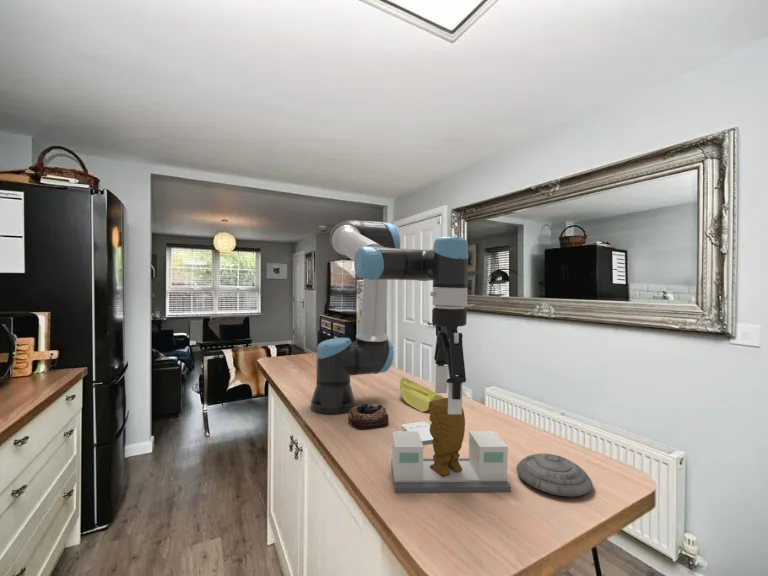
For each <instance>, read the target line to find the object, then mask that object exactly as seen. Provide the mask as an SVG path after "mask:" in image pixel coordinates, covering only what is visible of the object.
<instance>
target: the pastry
mask: <svg viewBox="0 0 768 576" xmlns="http://www.w3.org/2000/svg"><path fill="white" fill-rule="evenodd" d="M348 421H349V423H350V424H351V426H352V427H353V428H355V429H357V431H362V430H363V431H364V430H373V429H378V428H379V429H381V428H384V429H385V428H387V427H388V426H389V425H390V423H389V414H388V412H387V408H385V407H383V405H382V404H380V403H374V404H370V405H369V404H368V403H367V402H363V403H362V404H361V405H360V406H359V405H355V407H353V408H352V409H350V411H348Z"/></svg>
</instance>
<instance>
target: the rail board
mask: <svg viewBox="0 0 768 576" xmlns="http://www.w3.org/2000/svg"><path fill="white" fill-rule="evenodd" d="M391 436H392V440H391V441H392V443H391V444H392V446H391V448H392V449H391V450H392V451H391V453H392V454H391V456H392V457H391V468H392V478H393V480H392V481H393V486H394V493H396V494H397V493H401V494H402V493H409V494H411V493H412V494H413V493H497V492H498V493H500V492H501V493H503V492H506V493H511V492H512V486H511V485H510V483H509V482H508V456H509V455H508V452H509V451H508V450H509V448H508V447H509V446H508V445H507V444H506V443H505V442H504V440H502V438H501V437H500V436H499V434H497V432H496V431H495V430H472V431H471V430H469V431H468V458H460V457H459V458H458V461H459V463H460V465H461V467H462V471H461V472H457V473H455V472H454V471H453V470H451V469H450V468H448V469H449V476H445V477H441V476H440V475H439V474H437V473H436V472H435V471H434V470H432V469H431V468H430V465H433V464H434V459H433V458H424V445H423V444H422V441H421V438H420V435H419V432H418V431H404V430H400V431H399V430H398V431H396V430H395V431H394V430H393V431H392V435H391Z"/></svg>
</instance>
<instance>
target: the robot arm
mask: <svg viewBox="0 0 768 576" xmlns="http://www.w3.org/2000/svg"><path fill="white" fill-rule="evenodd" d="M329 243H330V245H331V247H332V249H333V250H334V251H335V252H336V253H338V254H339V255H341V256H346V257H348V258H349V259H350V260H351V261H352V262H353V269H354V271H355V275H356V276H357V277H358V278H359V279H361V280H362V296H361V299H362V300H361V314H360V315H361V319H360V332H358V333H357V334H356V335H355V341H352V340H351V338H349V337H336V338H335V337H334V338H330V339H329V338H328V339H326V340H323V341H321V342H320V343H318V345H317V347H316V355H315V356H316V357H315V358H316V382H315V383H316V384H315V385H316V386H315V388H314V392H313V395H312V397H311V400H310V408H311V411H313V412H315V413H317V414H323V415H340V414H344V413H349V412H350V409H352V408H353V407H356V398H355V396H354V392H353V388H352V386H351V376H359V375H360V376H361V375H371V374H372V375H373V374H374V375H377V374H381V373H382V374H383V373H386V372H387V371H389V370H390V368H391V367H392V365H393V361H394V345H393V343H392V342H391V341H390V340H389V337H388V335H387V334H386V332H385V328H386V315H387V314H386V313H387V309H386V308H387V294H388V293H387V292H388V281H389V280H391V281H392V280H394V281H395V280H396V281H397V280H399V281H402V280H403V281H419V282H423V281H424V282H428V281H432V288H433V289H432V291H430V294H429V295H430V296H431V297H432V305H433V306H435V307H433V308H432V309H431V310H432V311H431V314H432V315H431V323H432V325H435V326H437V332H436V342H435V349H434V350H435V351H434V357H433V359H434V361H435V363H434V364H435V393H437V394H447V398H448V414H462V408H463V384H464V383H467V382H466V381H467V378H466V368H465V358H464V347H463V346H464V345H463V337H464V335H463V333H462V332H459V331H458V328H459V327H464V326H466V325H467V319H468V317H467V316H468V315H467V312H468V311H467V309H466V308H465V307H467V306H468V271H469V250H468V247H469V246H468V245H469V243H468V240H467V239H466V238H464V237H460V236H441V237H440V236H439V237H436V238H435V240H434V242H433V247H432V249H413V248H412V249H411V248H401V236H400V233H399V230H398V228H397V227H396V225H394V224H393V223H390V222H384V221H372V220H371V221H370V220H359V219H349V220H348V219H347V220H344V221H342V222H340V223H337V224H336V225H335V226H333V228H332V230H331V232H330V235H329ZM448 376H449V377H448Z"/></svg>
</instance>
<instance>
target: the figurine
mask: <svg viewBox="0 0 768 576" xmlns="http://www.w3.org/2000/svg"><path fill="white" fill-rule="evenodd" d="M428 414H429V418H428V420H429V421H430V422H431V423H430V424H429V425H430V434H431V436H432V437H433V443H432V448H433V452H434V455H432V459H434V464H433V465H430V468H431V469H432V470H434V471H435V472H436V473H437V474H439V475H440V476H441V477H445V476H449V469H448V468H450V469H451V470H453V471H454V472H455V473H457V472H461V471H462V467H461V465H460V463H459V461H458V459H460V456H461V455H460V454H459V452H460V450H461V448H462V445H463V442H464V438H465V429H466V417H465V412H464V408H463V407H462V414H448V397H445V398H443V399H439V400H433V401H430V402H429V410H428Z"/></svg>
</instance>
